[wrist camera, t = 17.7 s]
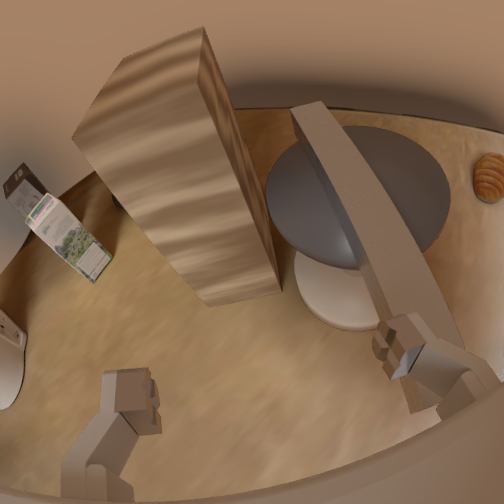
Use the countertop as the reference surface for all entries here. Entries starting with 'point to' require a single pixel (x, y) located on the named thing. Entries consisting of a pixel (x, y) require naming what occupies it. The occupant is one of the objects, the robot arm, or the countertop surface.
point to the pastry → (489, 178)
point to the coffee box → (24, 190)
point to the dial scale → (328, 227)
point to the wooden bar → (375, 235)
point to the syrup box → (68, 237)
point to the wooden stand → (184, 168)
